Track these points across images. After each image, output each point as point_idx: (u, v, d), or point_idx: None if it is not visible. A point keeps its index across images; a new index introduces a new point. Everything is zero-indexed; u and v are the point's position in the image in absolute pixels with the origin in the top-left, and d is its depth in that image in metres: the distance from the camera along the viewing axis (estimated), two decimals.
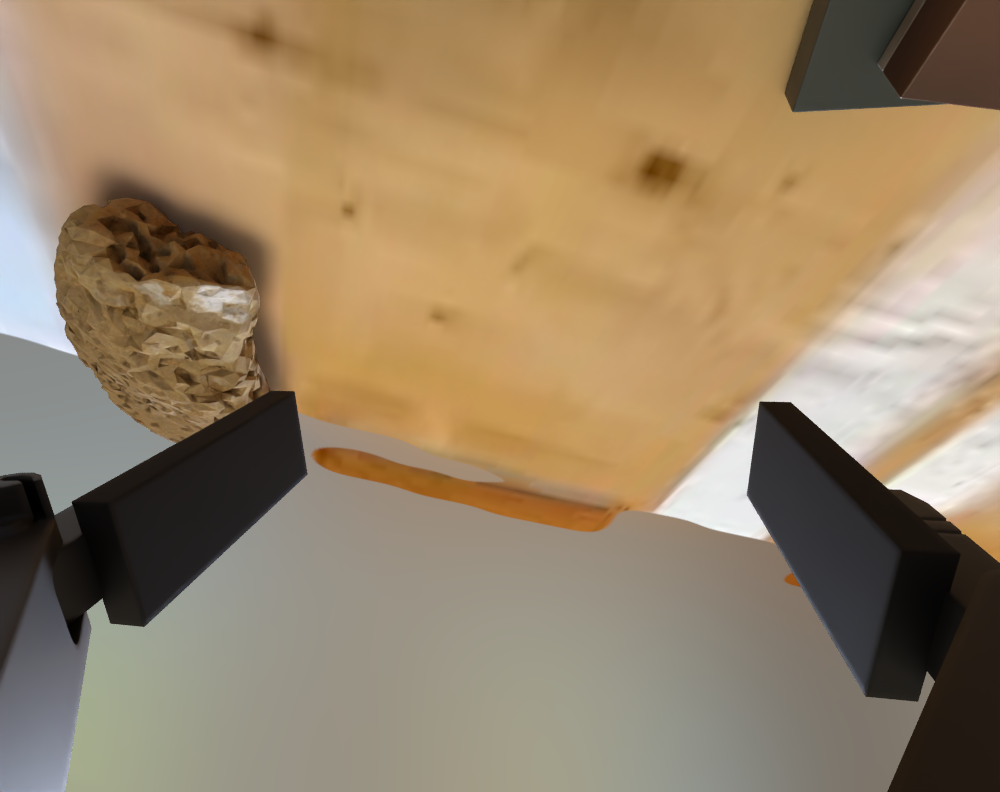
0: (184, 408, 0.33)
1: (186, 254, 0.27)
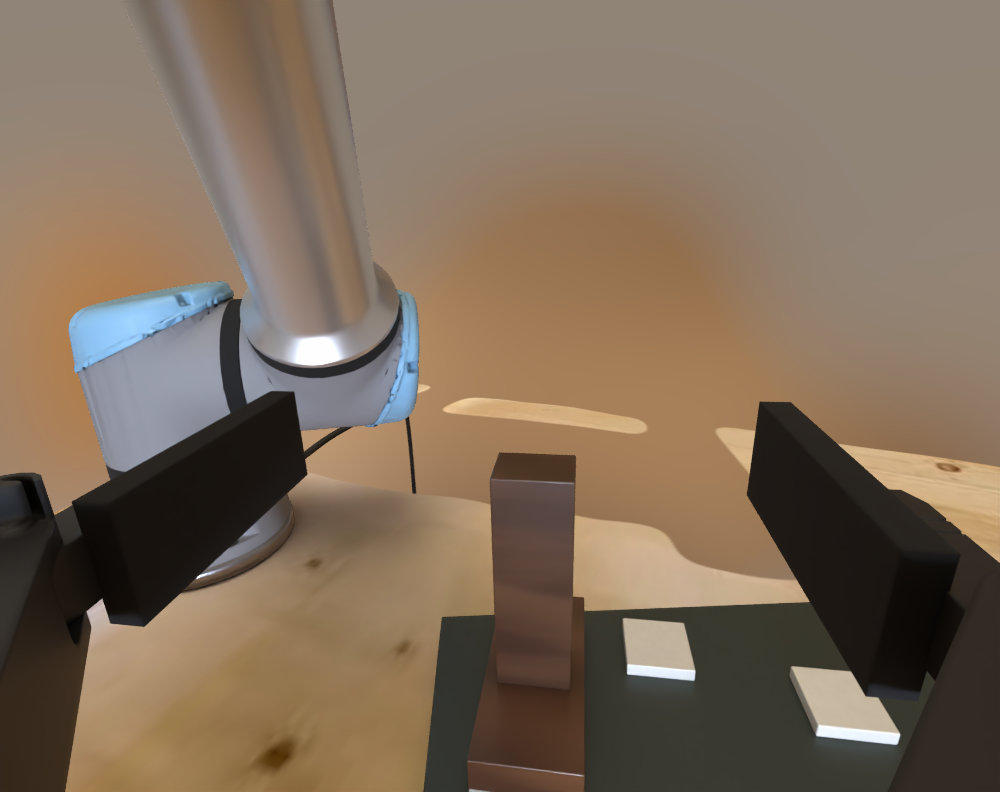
0: None
1: None
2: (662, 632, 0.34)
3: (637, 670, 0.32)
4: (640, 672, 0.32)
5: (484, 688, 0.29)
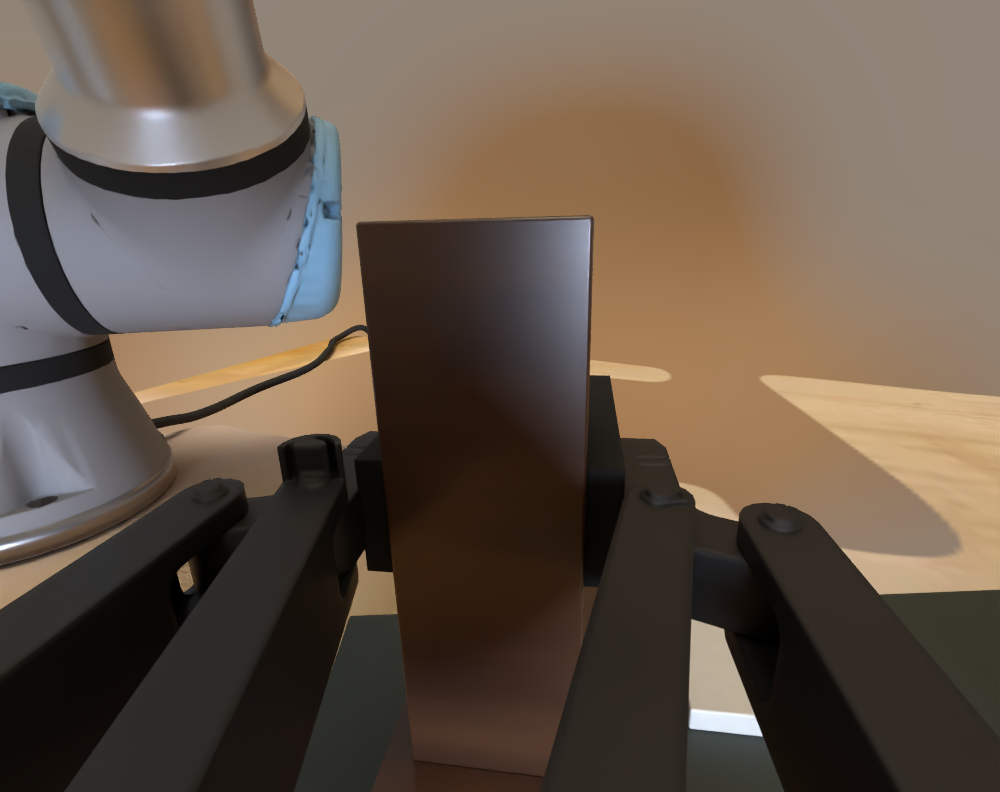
0: None
1: None
2: None
3: (711, 721, 0.16)
4: (716, 725, 0.16)
5: (382, 775, 0.13)
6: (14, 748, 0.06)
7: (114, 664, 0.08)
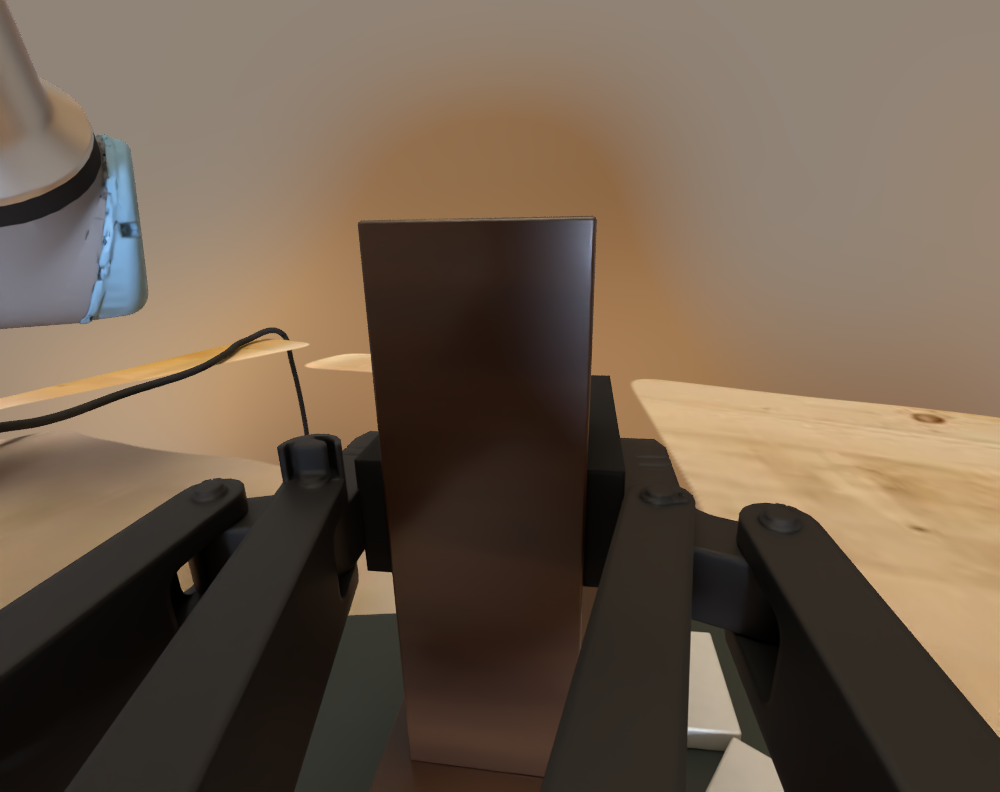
0: None
1: None
2: None
3: None
4: None
5: (379, 775, 0.13)
6: (14, 748, 0.06)
7: (115, 664, 0.08)
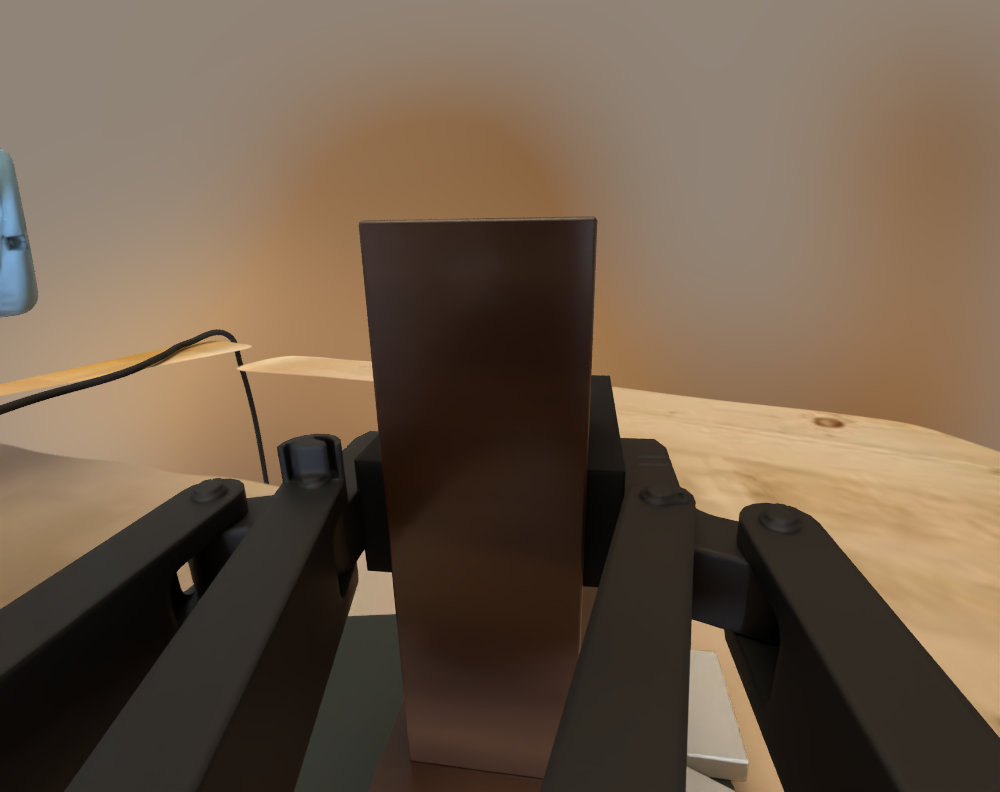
0: None
1: None
2: None
3: None
4: None
5: (378, 775, 0.13)
6: (14, 748, 0.06)
7: (114, 664, 0.08)
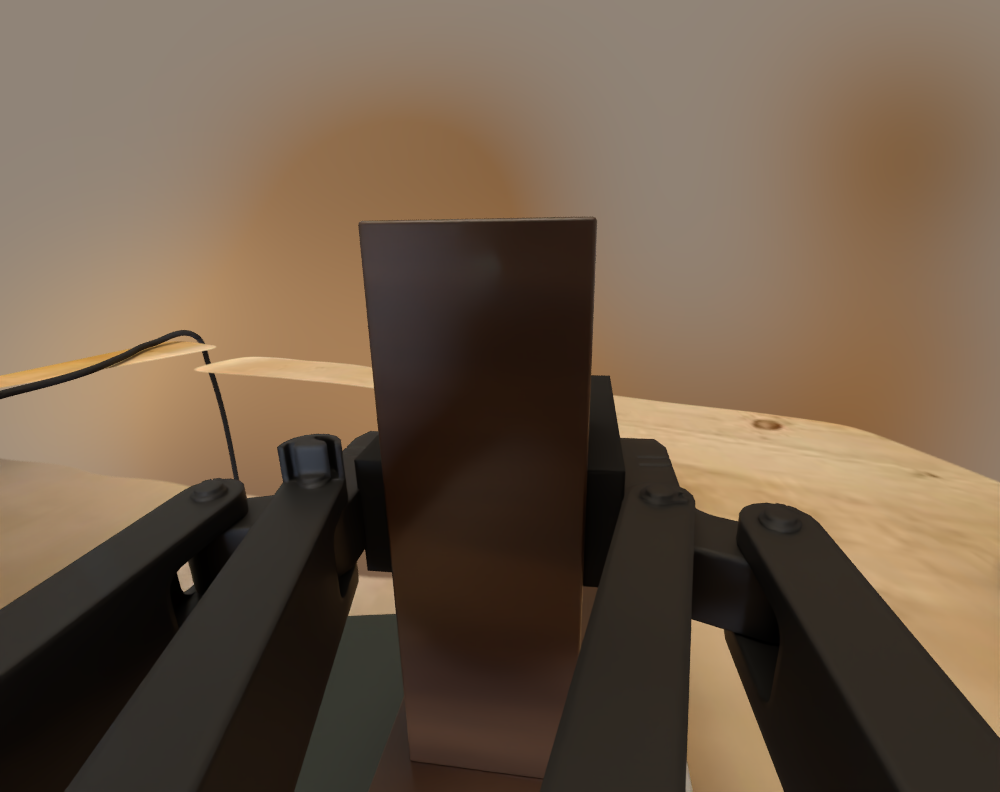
0: None
1: None
2: None
3: None
4: None
5: (379, 775, 0.13)
6: (14, 748, 0.06)
7: (115, 664, 0.08)
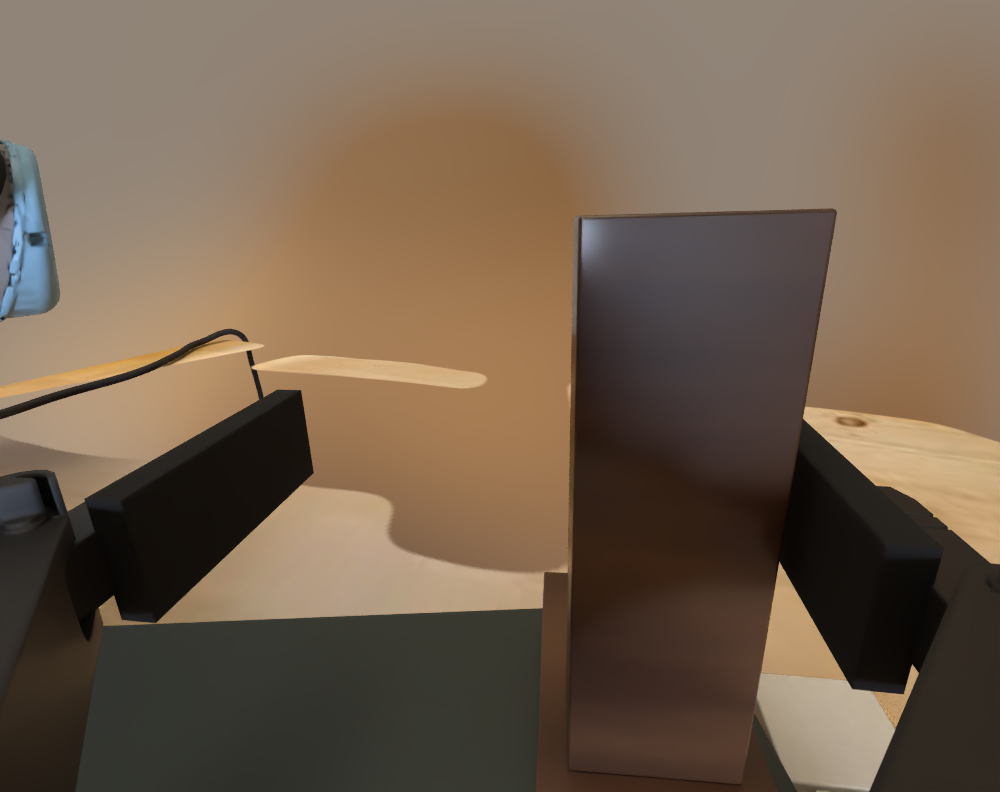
0: None
1: None
2: (833, 702, 0.18)
3: None
4: None
5: (541, 787, 0.12)
6: None
7: None
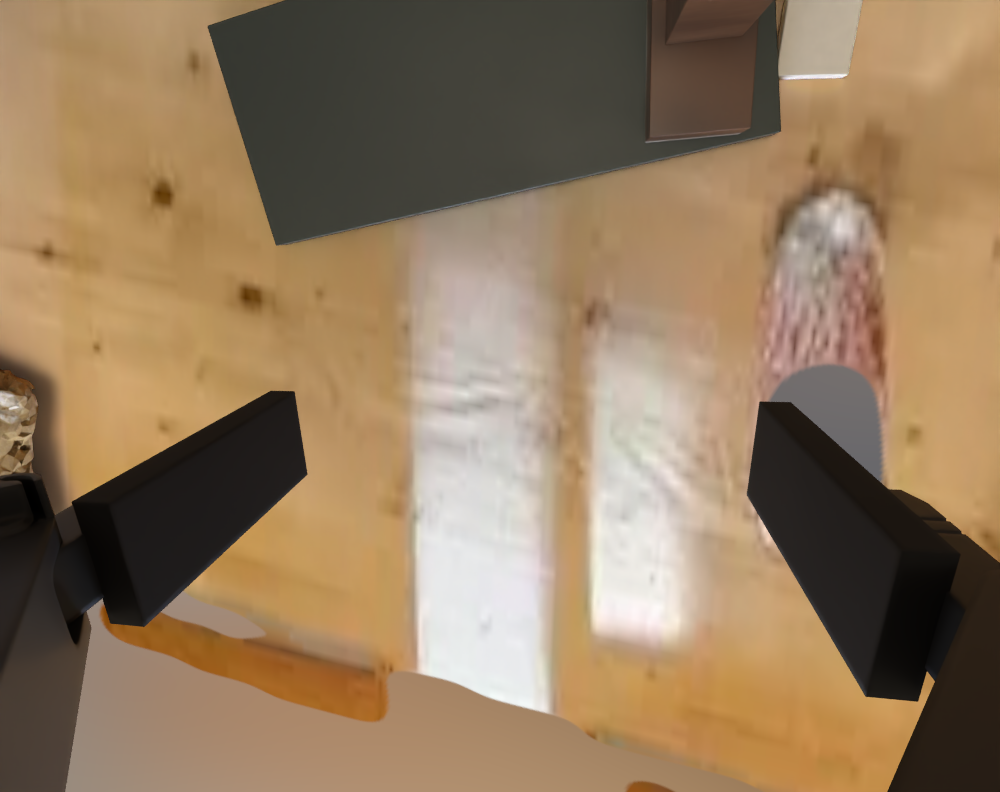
0: None
1: None
2: None
3: None
4: None
5: (653, 55, 0.29)
6: None
7: None
